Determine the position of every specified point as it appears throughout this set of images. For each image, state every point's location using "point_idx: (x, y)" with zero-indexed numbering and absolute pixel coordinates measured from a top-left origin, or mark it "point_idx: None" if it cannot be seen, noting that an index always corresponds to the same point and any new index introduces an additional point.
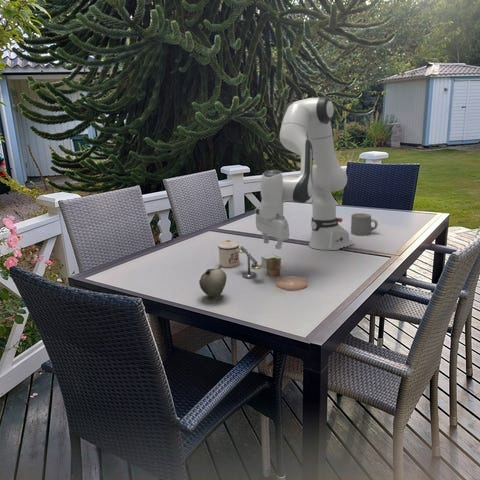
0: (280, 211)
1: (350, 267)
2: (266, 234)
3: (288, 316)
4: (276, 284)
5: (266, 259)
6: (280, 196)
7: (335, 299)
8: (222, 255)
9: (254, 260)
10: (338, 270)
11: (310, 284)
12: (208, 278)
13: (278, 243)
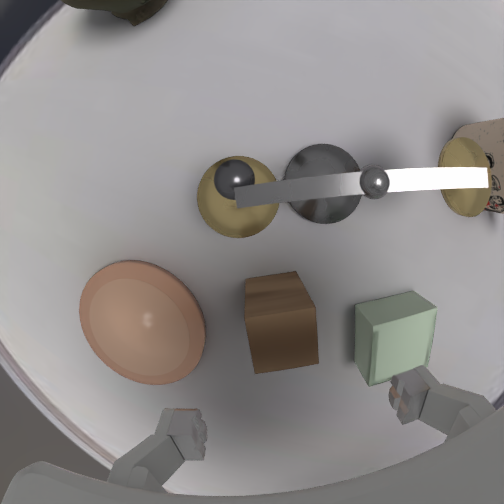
0: None
1: (237, 491)
2: (452, 430)
3: None
4: (141, 263)
5: (314, 306)
6: None
7: (30, 364)
8: (494, 120)
9: (267, 193)
10: (226, 473)
11: None
12: None
13: (134, 450)
